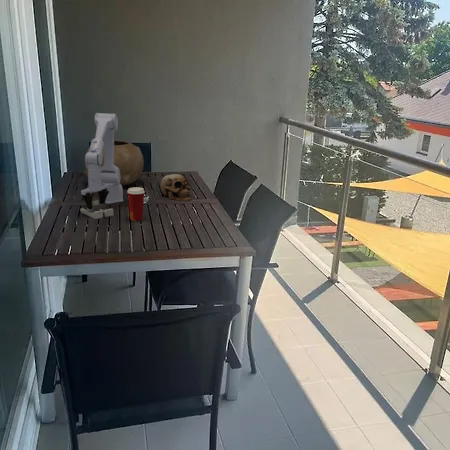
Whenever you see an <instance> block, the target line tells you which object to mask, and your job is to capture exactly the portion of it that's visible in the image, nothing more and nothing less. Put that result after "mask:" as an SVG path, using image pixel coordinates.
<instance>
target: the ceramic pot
mask: <svg viewBox="0 0 450 450" xmlns="http://www.w3.org/2000/svg"><path fill="white" fill-rule="evenodd" d="M103 142H104V139H103ZM89 149H90V147H88V150H87V151H86V153H88V152H89ZM102 154H103V156H102V164H101V167H102V166H104V147H103V151H102ZM144 163H145V160H144V155H143V154H142V151H141V148H140V147H139V146H136V145H135V144H133V143H131V142H129V141H127V140H122V139H114V165H115V166H116V167H118V168H119V170H120V184H121V186H122V187H124V186H128V185H130V184H132V183H134V182H136V181H137V180H138V179H140V177H141V175H142V173H143V172H144ZM84 167H85V171H84V173H83V174H84V175H85V176H86V177H88V169H87V168H86V163H85V162H84ZM105 171H106V170H105ZM112 172H114V171H112Z"/></svg>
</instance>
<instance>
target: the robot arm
mask: <svg viewBox="0 0 450 450" xmlns="http://www.w3.org/2000/svg"><path fill="white" fill-rule="evenodd" d="M118 119H119V118H118V116H117V114H116V113H106V112H105V113H103V112H102V113H101V112H95V115H94V124H95V127H96V131H95V137H94V138H92V139H91V141H90V146H89V148H90V149H89V148H88V149H89V152H88V153H87V152H86V153H85V155H84V164H85V163H86V168H87V169H88V176H87V182H88V183H87V187H86V188H85V189H82V190H80V193H81V194H80V195H81V197H82V198H83V200H84V202H85V205H86V209H87V208H88V209H92V198H93V196H94V195H92V194H93V193H98V199H99V204H104V203H105V204H106V205H110V204H114V203H115V204H116V203H120V202H121V203H122V202H124V201H125V200H124V197H123V196H124V194H123V193H124V191H123V186H121V184H120V170H119V168H118V167H116V166H115V165H114V140H115V132H117V131H118V129H119V120H118ZM103 140H104V142H103ZM103 147H104V166H102V167H101V164H102V156H103V154H102V151H103ZM86 168H85V169H86ZM105 170H106V171H105ZM112 171H114V172H112Z"/></svg>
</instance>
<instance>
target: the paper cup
mask: <svg viewBox="0 0 450 450" xmlns="http://www.w3.org/2000/svg"><path fill="white" fill-rule="evenodd" d="M126 192H127V196H128V209H129V219H130V221H133V222H140V221H143V219H144V203H145V192H146V191H145V190H144V188H143V187H129V188H128V189H127V191H126Z"/></svg>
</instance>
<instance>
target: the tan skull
mask: <svg viewBox="0 0 450 450" xmlns="http://www.w3.org/2000/svg"><path fill="white" fill-rule="evenodd" d="M191 190H192V188H191V186H190V184H189V181H188V179H186V178H185V177H184V176H183V175H182V174H177V173H173V174H172V173H171V174H167V175H165V176H163V178H162V179H161V181H160V191H161V192H162V194H163V195H164V196H165V197H168V199H169V200H173V201H180V202H189V201H192V200H193V198H192V197H191V193H190V191H191Z"/></svg>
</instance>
